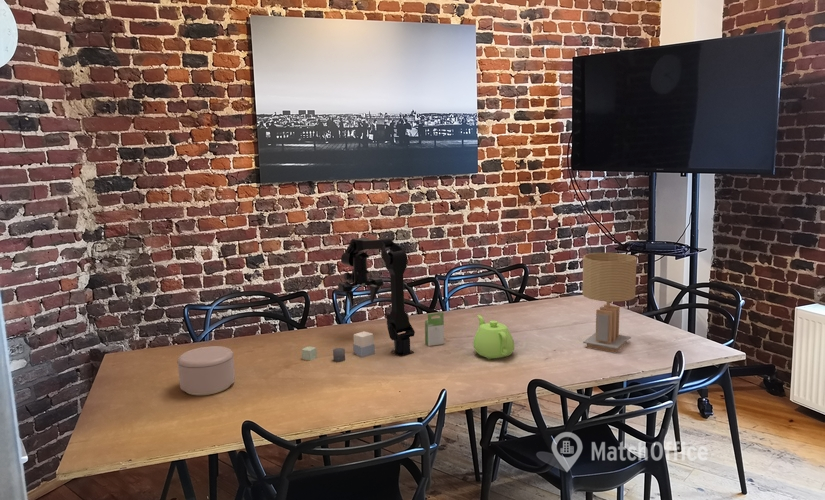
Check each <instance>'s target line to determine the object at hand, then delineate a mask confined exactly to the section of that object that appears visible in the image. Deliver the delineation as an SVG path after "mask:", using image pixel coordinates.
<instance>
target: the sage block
mask: <svg viewBox="0 0 825 500" xmlns="http://www.w3.org/2000/svg"><path fill="white" fill-rule="evenodd" d="M317 351H318V349H317V347H314V346H310V345H309V346H306V347H304V348H302V349H301V360H305V361H313V360H314V359H317V358H318V352H317Z"/></svg>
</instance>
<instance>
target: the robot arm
mask: <svg viewBox="0 0 825 500" xmlns="http://www.w3.org/2000/svg"><path fill="white" fill-rule="evenodd" d="M387 249H389V250H390V251H391V252H387ZM369 250H380V257H381V258H382V260H383V262H384V263H385V269H386V270H387V271H388V274H389V277H390V297H391V299H390V300H391V302H390V304H391V305H390V306H391V311H390V313H388V314H386V325H387V326H386V328H387V331H388V335H389V339H390V340H391V341H393V343H394V345H393V346H394V347H393V350H391V353H393V354H394V355H397V356H399V357H402V356H406V355H410V354H414V350H411V338H412V337H415V333H416V331H415V330H414V327H413V326H412V325H411V323H410V318H409V315H408V314H407V312H406V311H405V289H404V288H405V287H404V285H405V284H404V273H405V271H406V270H407V269H408V260H409V259H408V254H407V253H406V252H405V250H404V249H403V248H402V247H401V246H399V244H396V243H395V242H394V241H393V240H392V238H390V237H387V238H381V239H380V238H379V239H370V238H368V237H359V238H351V239H350V242H349V243H348V245H347V248H346V249H344V252H343V253H342V255H341V258H340V260H341V263H342V265H345V266H349V267H353V269H351V270H352V271H351V273H350V272H345V273H343V276H344V282H343V281H342V282H339V283H338V285H337V290H339V291H341V292H343V293H344V294H345V295H346V297H347V300H348V302H349V304H350V306H351V307H354V291H353V289H354V288H360V287H367V286H368V287H369V290H370V291H369V292H370V294H369V295H370V300H369V301H370V303H372V304H373V303H374V300H375V298H376V295H377V294H378V292H379V290H380V289H381V288H382V287H383V286H384V279H383V278H380V277H378V276H377V277H371V278H368V274H369V272H370V271H369V270H368V261H367V259H370V255H369V254H368V253H367V251H369Z"/></svg>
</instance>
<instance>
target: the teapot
mask: <svg viewBox="0 0 825 500" xmlns="http://www.w3.org/2000/svg"><path fill="white" fill-rule="evenodd" d="M477 317H478V322H479V323H478V325H479V326H478V329H477V331H476V332H475V335H474V339H473V342H472V343H473V348H474V350H475V352H476V353H477V354H478V355H480V356H482V357H484V358H486V359H487V360H493V359H498V358H506V357H509V356H510V355H511V354H512V353H514V350H515V343H514V338H513V336H512V334H511V332H510V329H509V328H508V326H506V325H505V324H504V323H501V322H499V321H497V320H490V321H489V322H487V323H485V319H484V318H483V316H482V315H480V314H477Z"/></svg>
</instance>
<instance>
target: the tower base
mask: <svg viewBox="0 0 825 500" xmlns="http://www.w3.org/2000/svg"><path fill="white" fill-rule="evenodd" d="M375 346H376V345H375V343H374V344H372V345H369V346H366V347H360V346H357V345H354V343H353V349H352V350H353V354H355V355H356V356H358V357H360V358H364V357H368V356H372V355H375V353H376V351H375V349H376V348H375Z"/></svg>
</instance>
